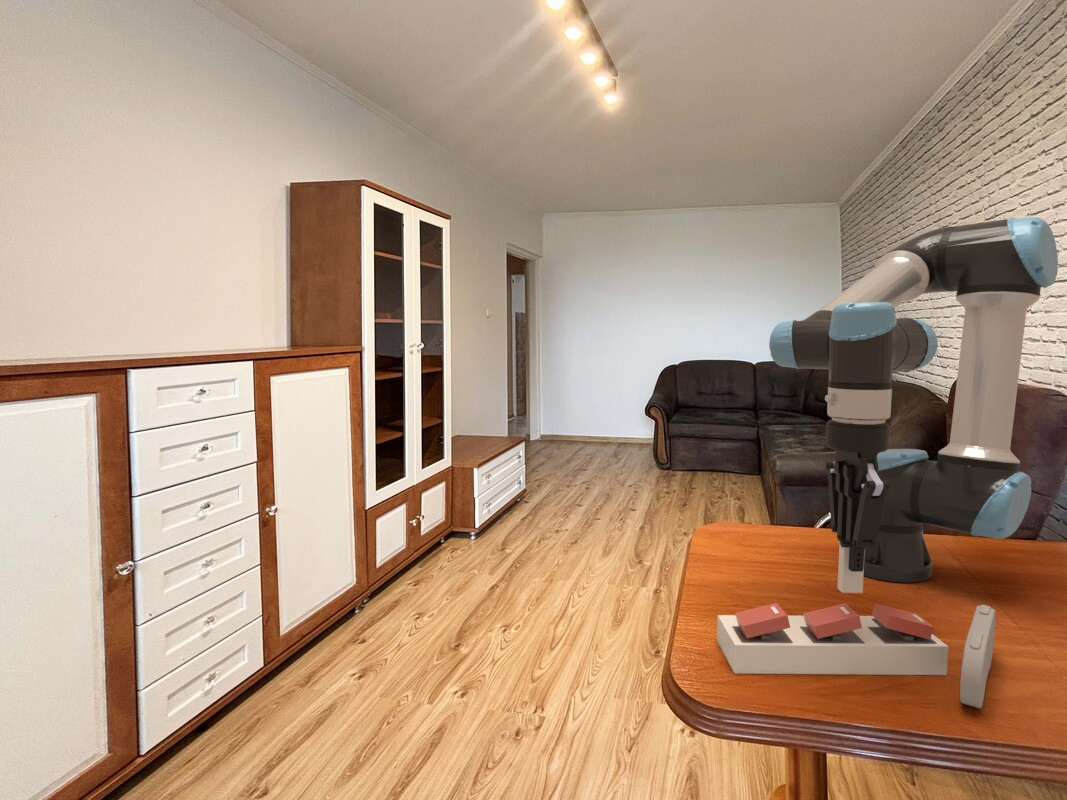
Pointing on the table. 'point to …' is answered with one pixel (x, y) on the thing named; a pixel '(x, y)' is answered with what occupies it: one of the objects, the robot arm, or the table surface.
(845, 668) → the rocker switch panel
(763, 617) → the rocker
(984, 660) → the grey rounded slab
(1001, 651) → the table surface
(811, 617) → the block
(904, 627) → the block
